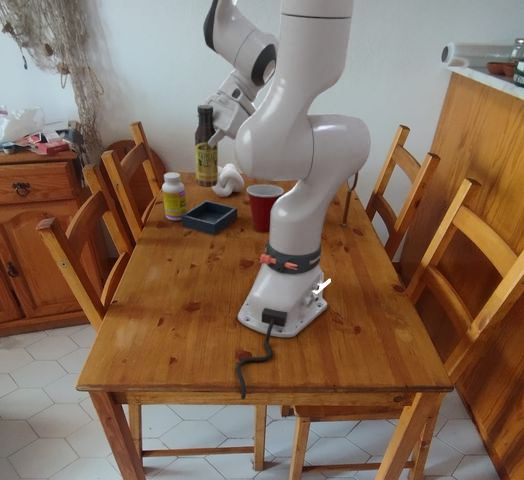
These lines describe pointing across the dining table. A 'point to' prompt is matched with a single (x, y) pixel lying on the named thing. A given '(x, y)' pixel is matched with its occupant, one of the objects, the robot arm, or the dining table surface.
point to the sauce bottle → (206, 149)
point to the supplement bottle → (174, 196)
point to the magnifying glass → (349, 194)
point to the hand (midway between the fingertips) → (203, 141)
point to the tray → (209, 217)
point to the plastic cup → (263, 204)
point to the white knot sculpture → (228, 181)
